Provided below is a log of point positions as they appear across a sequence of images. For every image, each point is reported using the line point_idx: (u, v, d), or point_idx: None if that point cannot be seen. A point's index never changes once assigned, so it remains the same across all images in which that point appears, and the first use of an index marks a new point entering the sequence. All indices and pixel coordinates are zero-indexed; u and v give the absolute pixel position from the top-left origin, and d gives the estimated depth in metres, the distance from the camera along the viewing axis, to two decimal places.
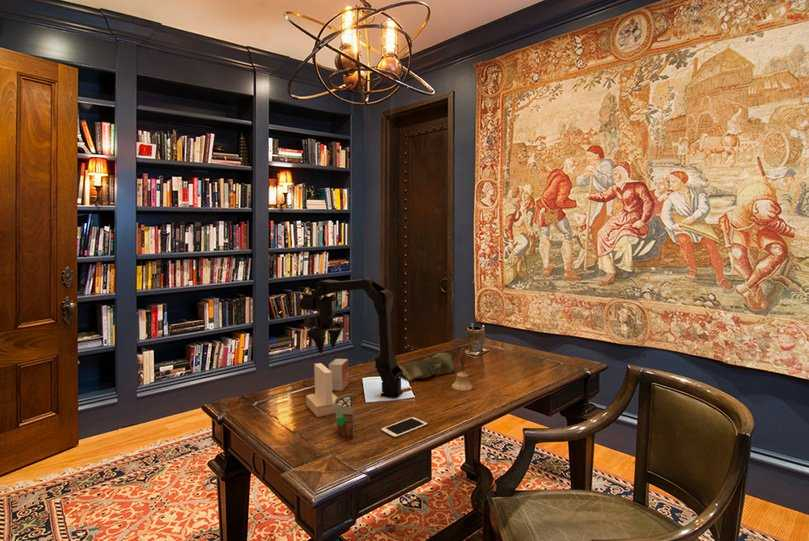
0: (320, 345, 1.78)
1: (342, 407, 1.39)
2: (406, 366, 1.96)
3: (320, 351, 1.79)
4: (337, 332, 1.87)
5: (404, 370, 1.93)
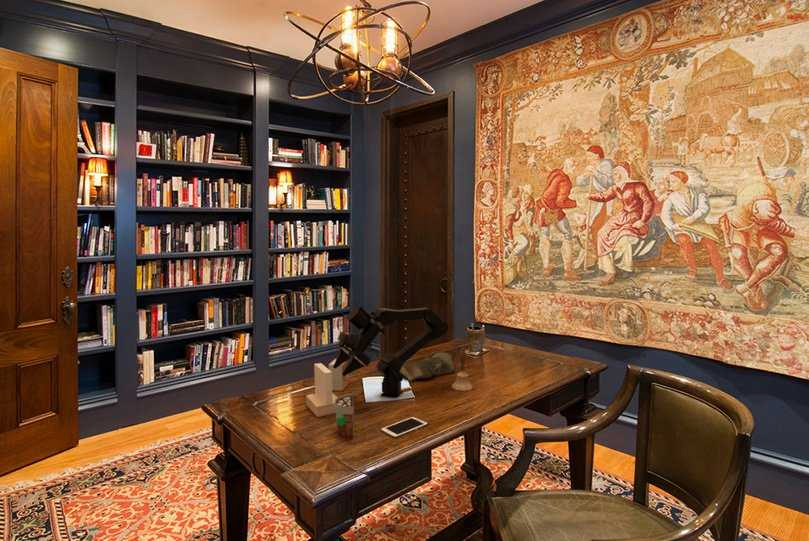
0: (352, 369, 1.60)
1: (342, 407, 1.39)
2: (406, 366, 1.95)
3: (345, 373, 1.60)
4: (348, 357, 1.71)
5: (404, 370, 1.93)
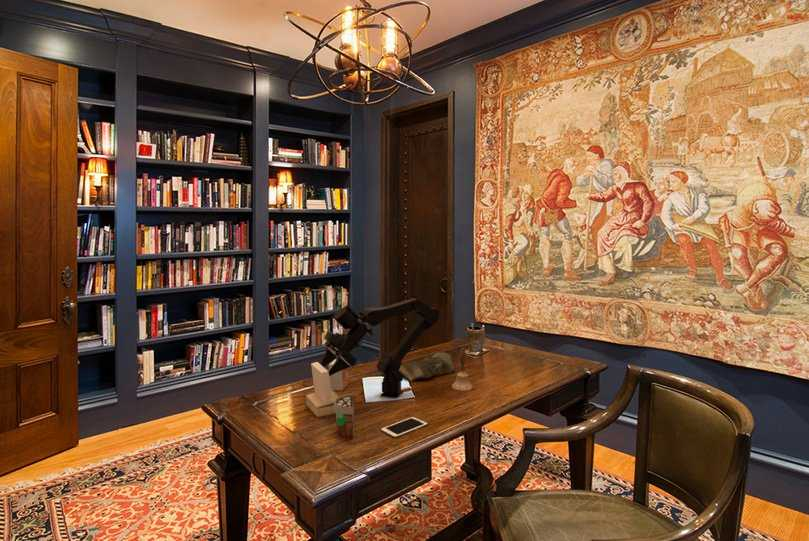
0: (337, 369, 1.58)
1: (342, 407, 1.39)
2: (407, 366, 1.95)
3: (330, 374, 1.57)
4: (334, 357, 1.68)
5: (405, 370, 1.93)
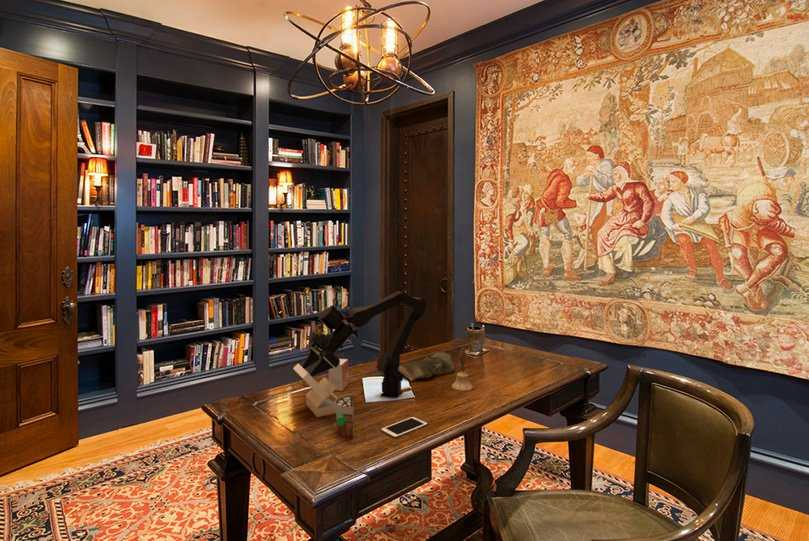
0: (320, 370, 1.55)
1: (342, 407, 1.39)
2: (407, 366, 1.95)
3: (313, 374, 1.54)
4: (318, 358, 1.65)
5: (405, 370, 1.93)
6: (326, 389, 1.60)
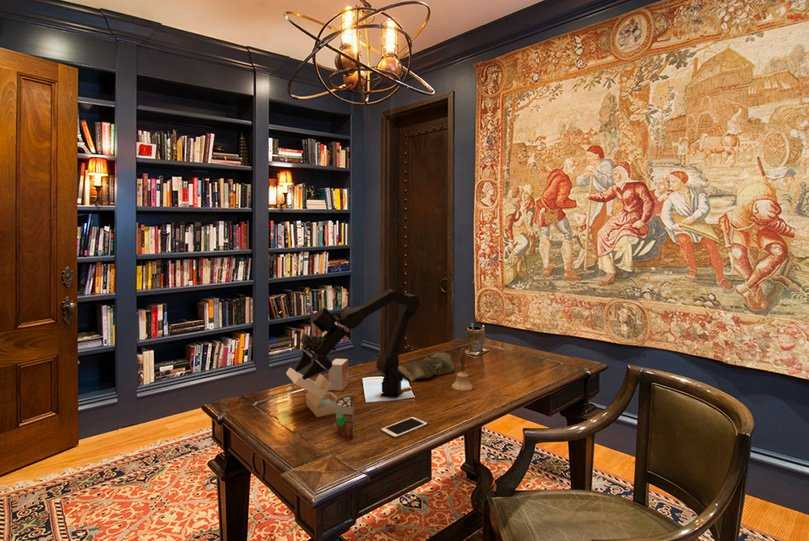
0: (313, 373, 1.53)
1: (342, 407, 1.39)
2: (407, 366, 1.95)
3: (305, 377, 1.53)
4: (311, 360, 1.64)
5: (405, 370, 1.92)
6: (323, 387, 1.59)
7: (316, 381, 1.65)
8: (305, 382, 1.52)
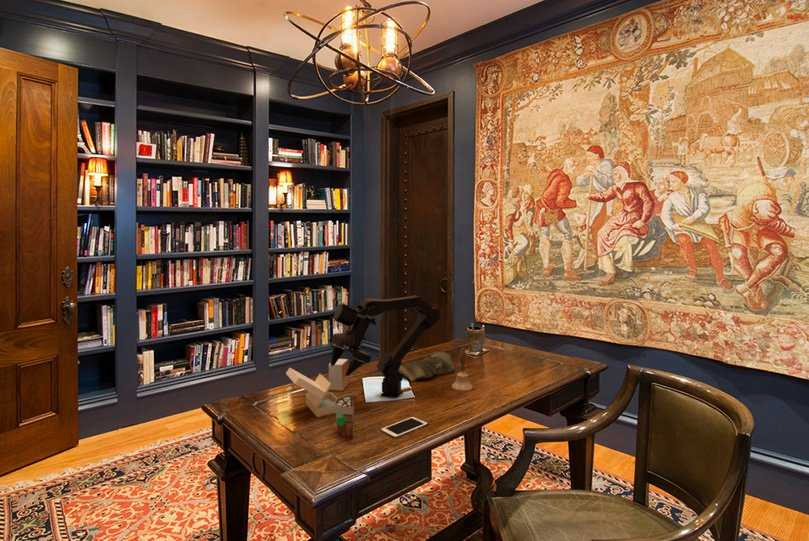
0: (354, 368, 1.63)
1: (342, 407, 1.39)
2: (407, 366, 1.95)
3: (348, 374, 1.63)
4: (342, 351, 1.72)
5: (406, 370, 1.92)
6: (323, 387, 1.59)
7: (316, 381, 1.65)
8: (305, 382, 1.52)
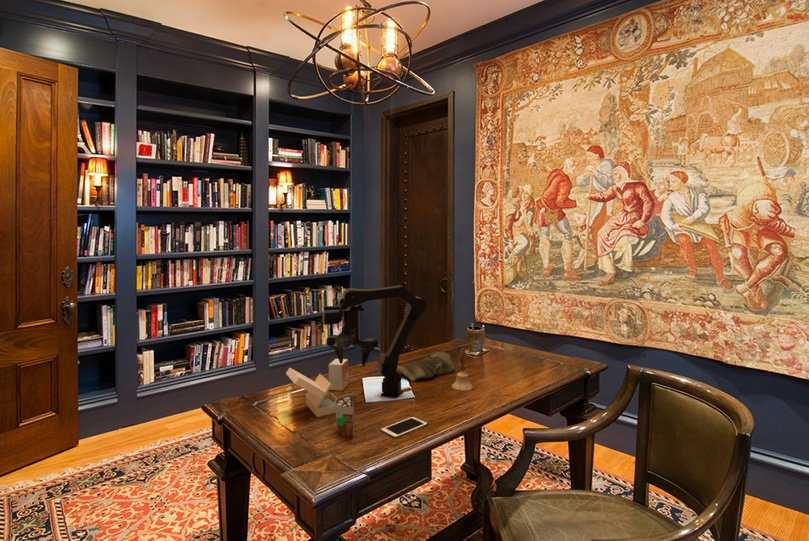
0: (367, 356, 1.68)
1: (342, 407, 1.39)
2: (407, 367, 1.95)
3: (364, 363, 1.68)
4: None
5: (406, 371, 1.92)
6: (323, 387, 1.59)
7: (316, 381, 1.65)
8: (305, 382, 1.52)
